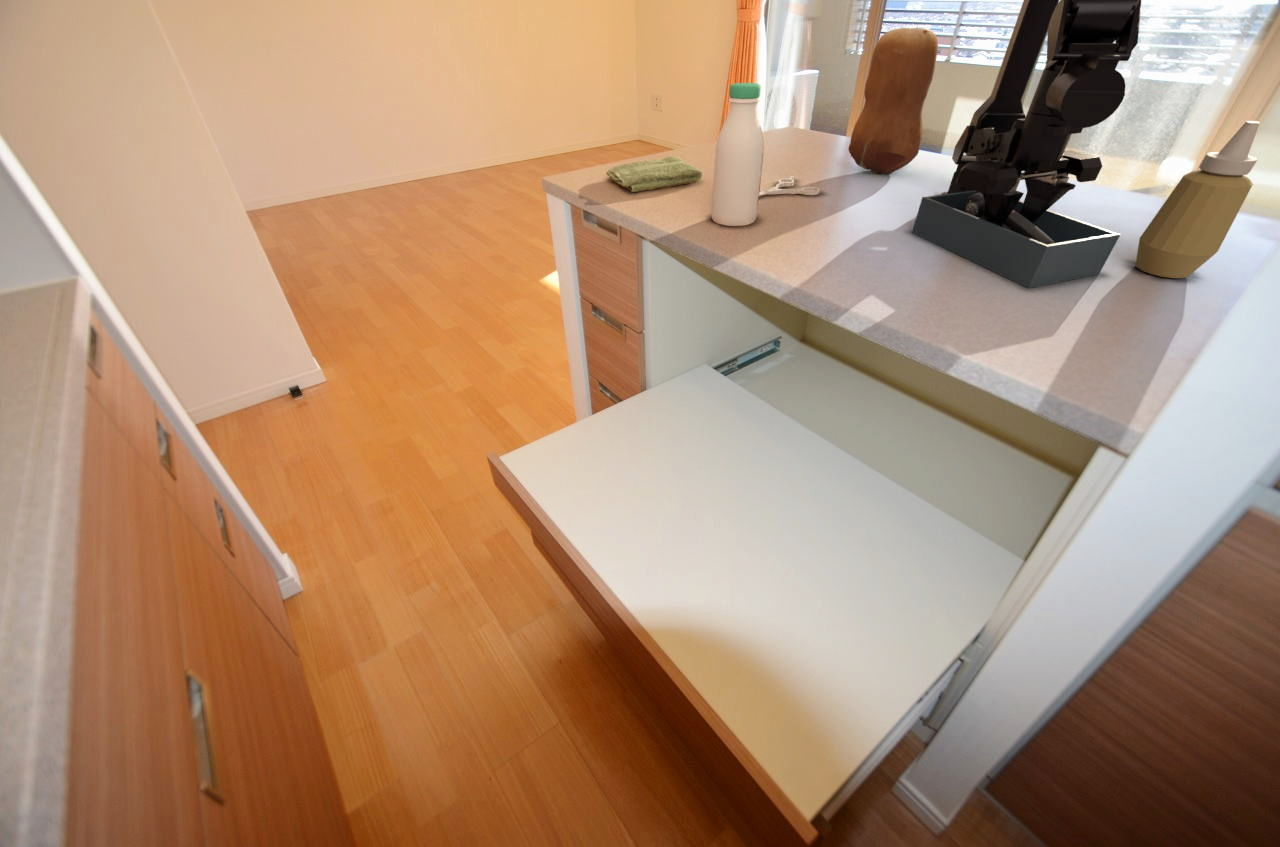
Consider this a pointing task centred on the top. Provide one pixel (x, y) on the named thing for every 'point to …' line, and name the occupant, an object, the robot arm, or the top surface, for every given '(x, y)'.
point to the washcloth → (654, 174)
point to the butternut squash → (894, 100)
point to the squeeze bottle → (1199, 210)
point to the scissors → (788, 183)
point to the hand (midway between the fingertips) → (1003, 234)
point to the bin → (1016, 242)
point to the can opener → (1014, 220)
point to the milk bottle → (738, 159)
